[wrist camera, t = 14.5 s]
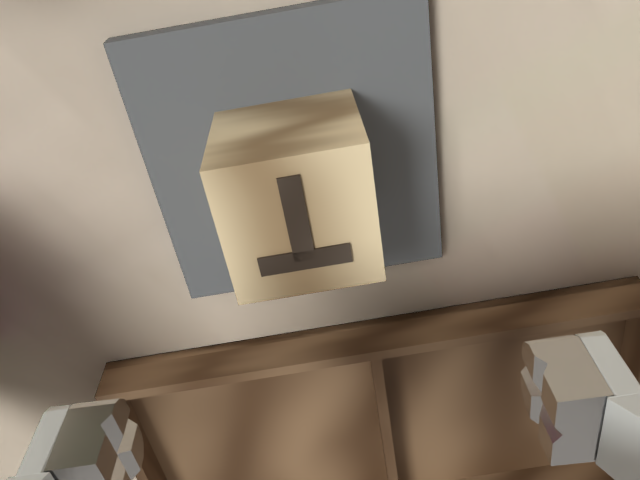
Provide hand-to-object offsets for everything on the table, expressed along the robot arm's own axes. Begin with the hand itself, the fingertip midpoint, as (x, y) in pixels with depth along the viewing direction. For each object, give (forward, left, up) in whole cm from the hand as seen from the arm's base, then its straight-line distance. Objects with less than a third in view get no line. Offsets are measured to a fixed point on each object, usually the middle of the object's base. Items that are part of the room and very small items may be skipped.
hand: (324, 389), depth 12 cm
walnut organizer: (-2, +16, -13) cm, 21 cm away
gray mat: (0, 0, -13) cm, 13 cm away
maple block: (0, 0, -12) cm, 12 cm away
